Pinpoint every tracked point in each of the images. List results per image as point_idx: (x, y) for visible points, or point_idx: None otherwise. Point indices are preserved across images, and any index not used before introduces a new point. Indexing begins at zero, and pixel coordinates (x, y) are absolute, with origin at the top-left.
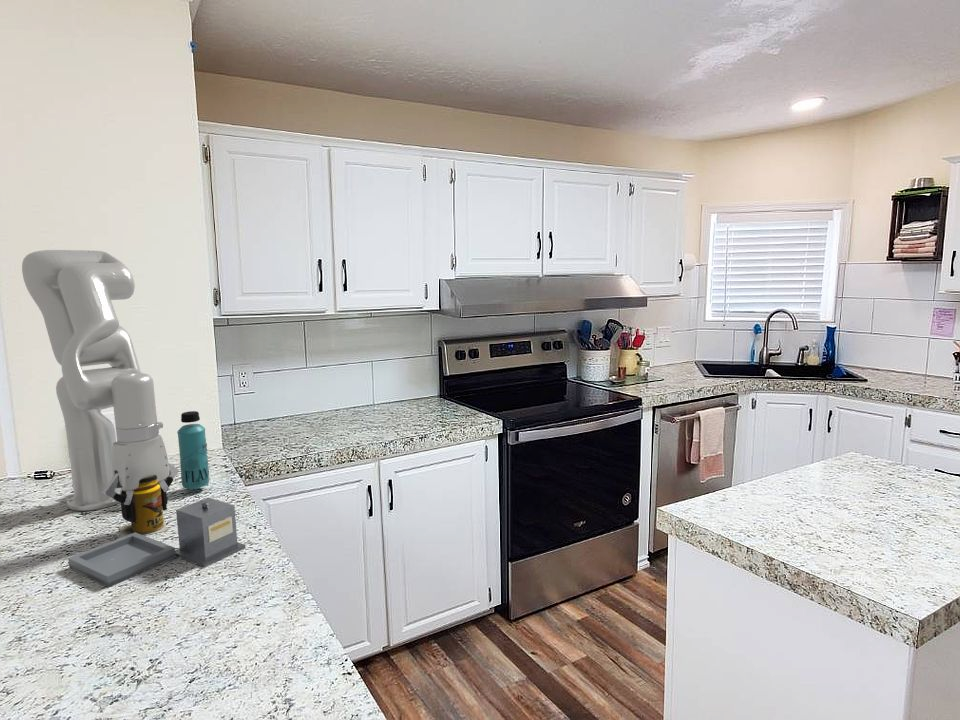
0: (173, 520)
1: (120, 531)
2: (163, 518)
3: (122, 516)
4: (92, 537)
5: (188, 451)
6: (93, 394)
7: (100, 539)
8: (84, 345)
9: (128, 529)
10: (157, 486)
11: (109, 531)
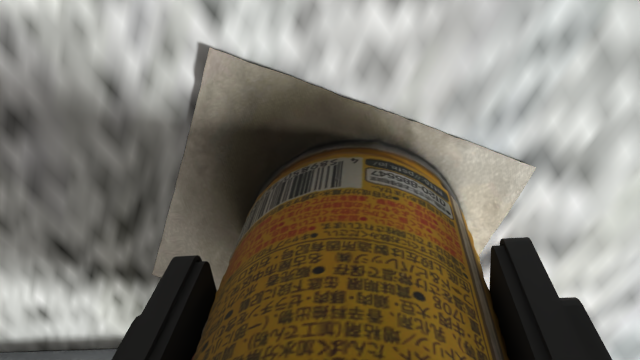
0: (548, 247)
1: (191, 135)
2: (526, 174)
3: (137, 319)
4: (3, 49)
5: None
6: None
7: (50, 138)
8: None
9: (248, 145)
10: None
11: (131, 41)
